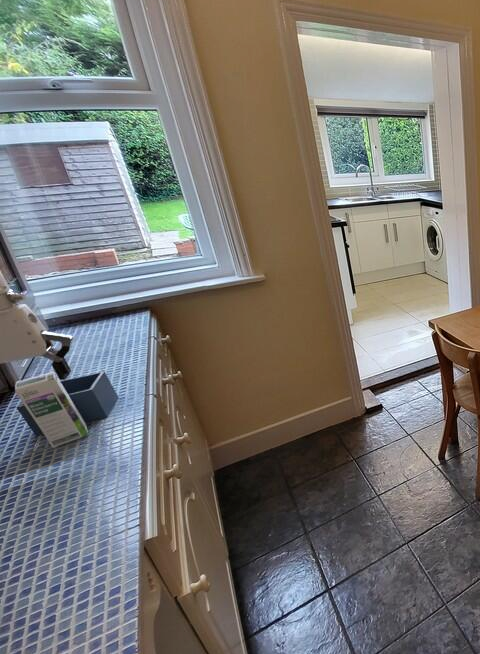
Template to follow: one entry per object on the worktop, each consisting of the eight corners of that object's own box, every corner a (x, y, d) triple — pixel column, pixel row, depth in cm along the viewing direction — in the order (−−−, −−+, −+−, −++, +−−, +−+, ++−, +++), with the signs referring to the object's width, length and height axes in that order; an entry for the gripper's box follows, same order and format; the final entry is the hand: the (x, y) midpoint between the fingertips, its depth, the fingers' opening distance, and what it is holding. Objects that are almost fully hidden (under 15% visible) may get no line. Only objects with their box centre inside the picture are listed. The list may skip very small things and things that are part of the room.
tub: (35, 436, 90) (16, 407, 87) (53, 413, 98) (35, 386, 95) (107, 417, 95) (91, 389, 92) (118, 397, 103) (104, 371, 100)
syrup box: (52, 449, 85) (13, 390, 79) (51, 437, 89) (14, 380, 83) (89, 435, 89) (54, 378, 83) (87, 425, 93) (53, 369, 87)
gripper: (57, 290, 83) (95, 365, 90) (-72, 307, 75) (-19, 387, 82) (42, 301, 77) (84, 379, 84) (-99, 320, 69) (-40, 405, 76)
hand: (33, 383), depth 83 cm, fingers open, 9 cm apart
